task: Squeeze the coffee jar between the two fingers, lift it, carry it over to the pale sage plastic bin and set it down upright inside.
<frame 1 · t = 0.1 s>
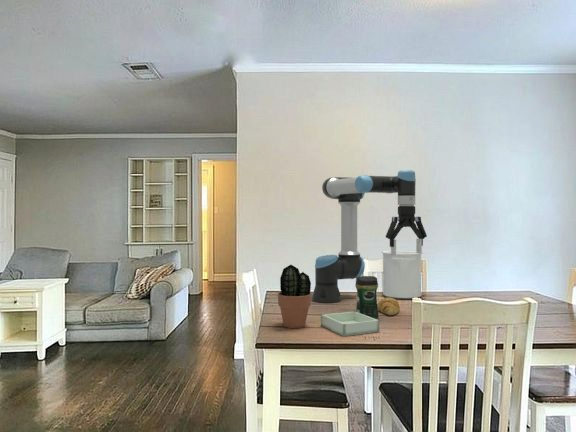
hand: (406, 254, 206), 28 cm above the table, fingers open, 13 cm apart
bucket: (401, 296, 257), on the table
croissant: (388, 312, 219), on the table
coffee jar: (366, 319, 205), on the table
bin: (349, 328, 187), on the table
potted plant: (294, 326, 193), on the table
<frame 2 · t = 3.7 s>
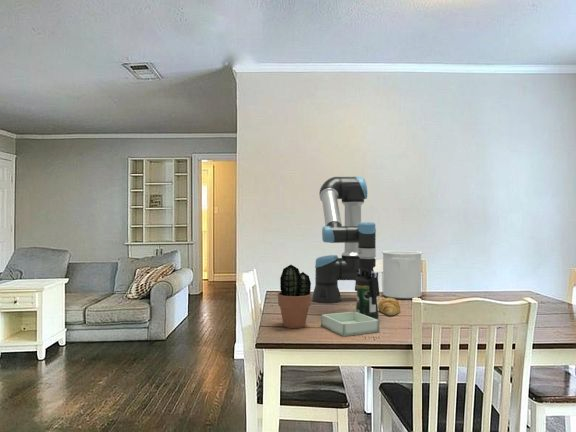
hand: (366, 309, 204), 4 cm above the table, fingers closed on coffee jar, 8 cm apart
coffee jar: (366, 319, 205), on the table, touching gripper
everything else where it was.
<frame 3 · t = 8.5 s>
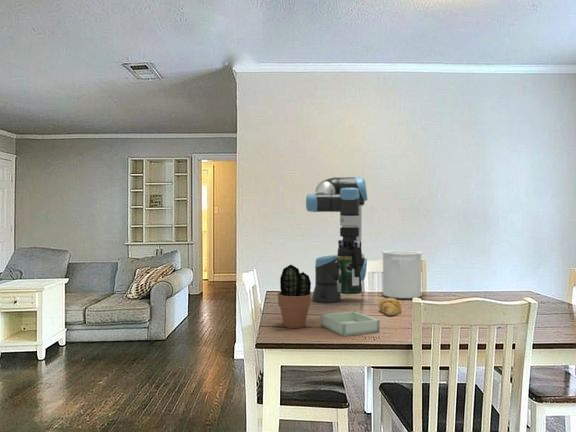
hand: (349, 283, 187), 18 cm above the table, fingers closed on coffee jar, 8 cm apart
coffee jar: (349, 293, 187), point 14 cm above the table, touching gripper
everything else where it was.
when the fingers open (7 cm above the table, at t = 11.3 s): coffee jar drops 2 cm, resting on bin.
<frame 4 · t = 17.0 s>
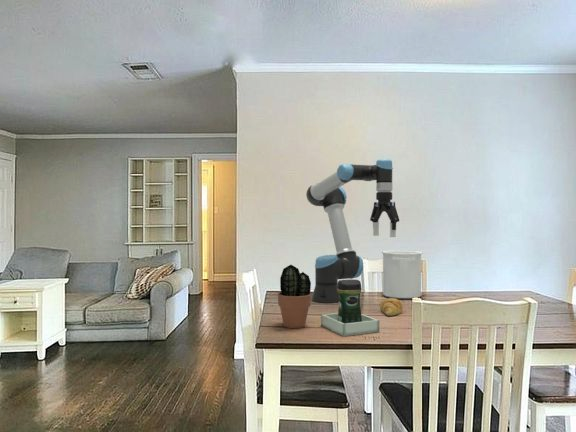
hand: (384, 236, 225), 35 cm above the table, fingers open, 13 cm apart
coffee jar: (349, 326, 187), point 1 cm above the table, touching bin
at the end: coffee jar inside the target area on the bin (0.2 cm from its centre), point 0.8 cm above the bin's base; coffee jar tilted 0°; the gripper is holding nothing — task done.
